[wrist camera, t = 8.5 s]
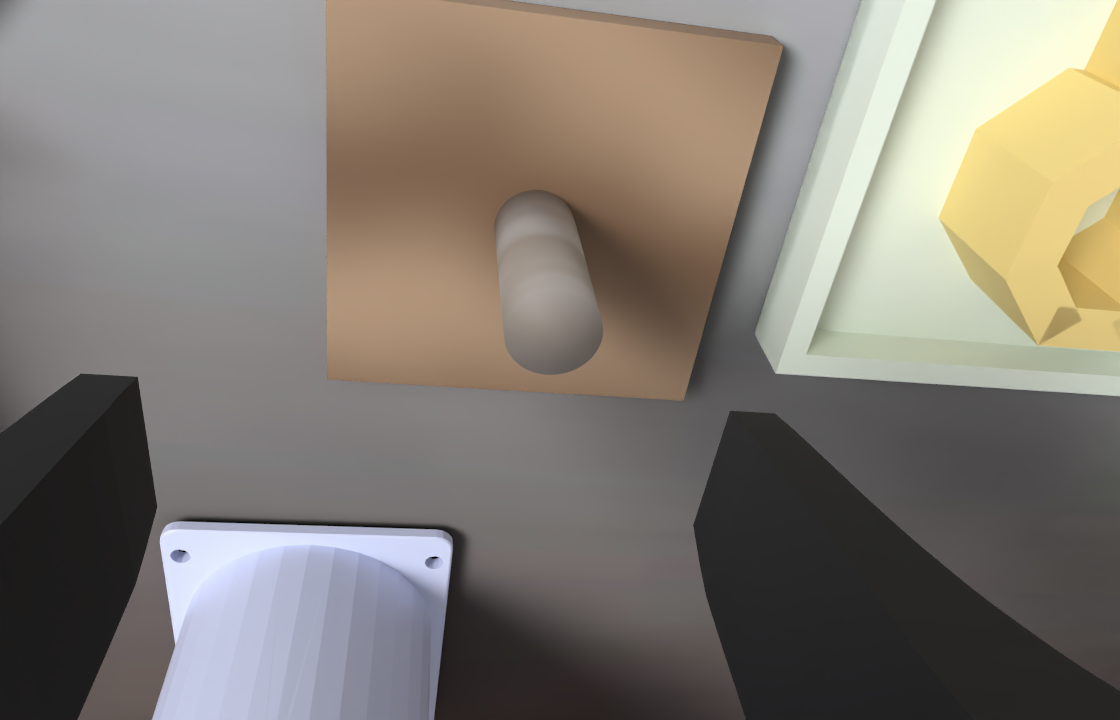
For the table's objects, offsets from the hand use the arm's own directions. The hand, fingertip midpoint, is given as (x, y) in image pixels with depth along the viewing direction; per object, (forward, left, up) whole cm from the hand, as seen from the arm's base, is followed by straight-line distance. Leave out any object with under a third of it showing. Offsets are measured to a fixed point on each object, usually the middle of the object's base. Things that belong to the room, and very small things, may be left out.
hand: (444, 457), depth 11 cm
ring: (+1, -14, -9) cm, 17 cm away
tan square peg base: (-1, -2, -10) cm, 10 cm away
